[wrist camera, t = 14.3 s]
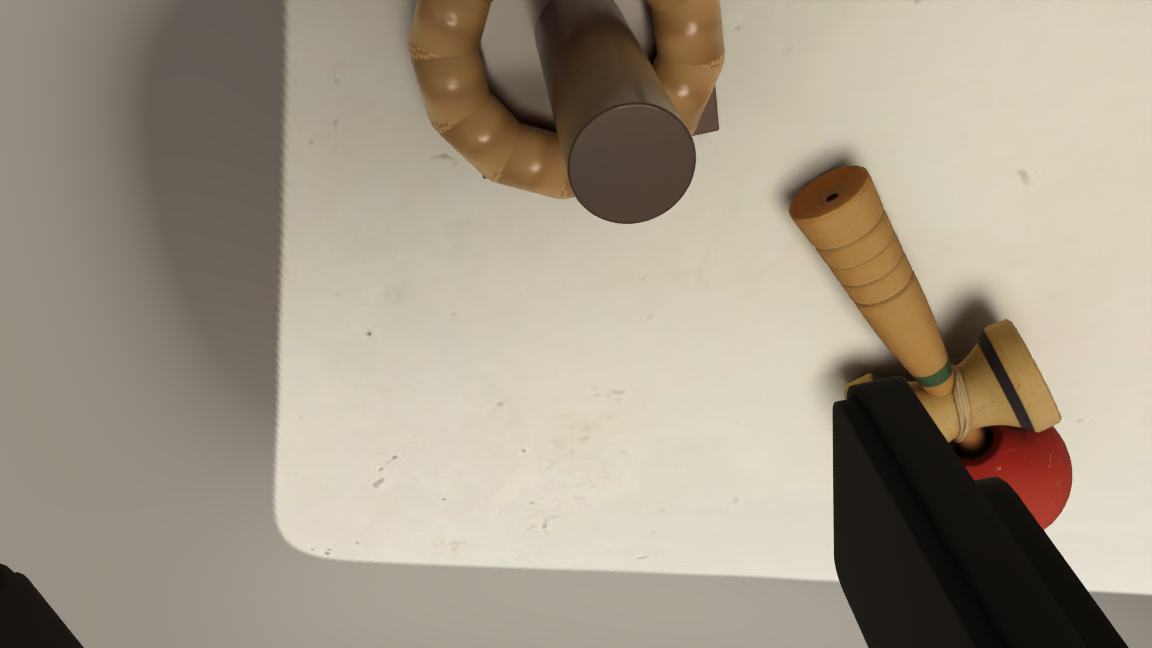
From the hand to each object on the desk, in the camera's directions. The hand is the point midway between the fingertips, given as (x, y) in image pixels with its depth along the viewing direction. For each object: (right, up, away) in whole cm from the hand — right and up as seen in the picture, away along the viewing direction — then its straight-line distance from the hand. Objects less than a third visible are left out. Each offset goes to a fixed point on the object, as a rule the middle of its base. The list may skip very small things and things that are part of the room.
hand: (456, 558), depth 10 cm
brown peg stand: (+1, +12, +18) cm, 22 cm away
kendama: (+15, +2, +27) cm, 30 cm away
